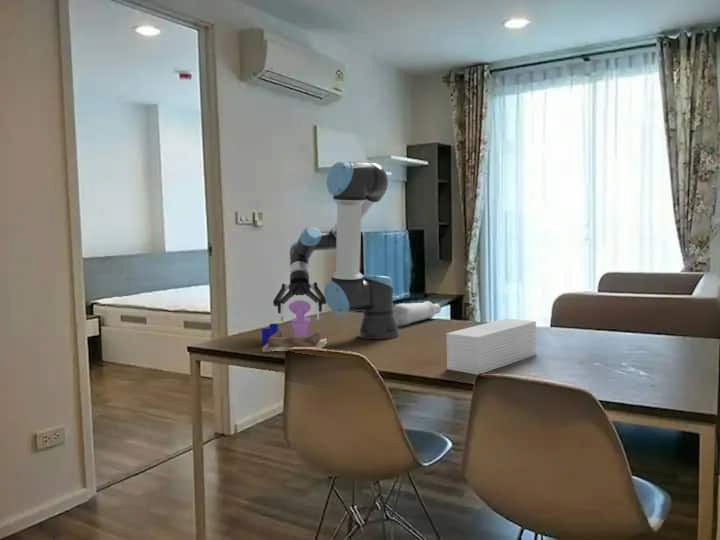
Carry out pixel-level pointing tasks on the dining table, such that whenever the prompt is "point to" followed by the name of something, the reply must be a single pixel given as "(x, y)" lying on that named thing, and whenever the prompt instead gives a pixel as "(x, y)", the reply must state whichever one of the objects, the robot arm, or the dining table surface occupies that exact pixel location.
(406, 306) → the bottle
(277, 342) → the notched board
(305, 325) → the purple upright piece
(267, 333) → the cable clip
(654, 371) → the dining table surface
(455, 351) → the stack of papers
